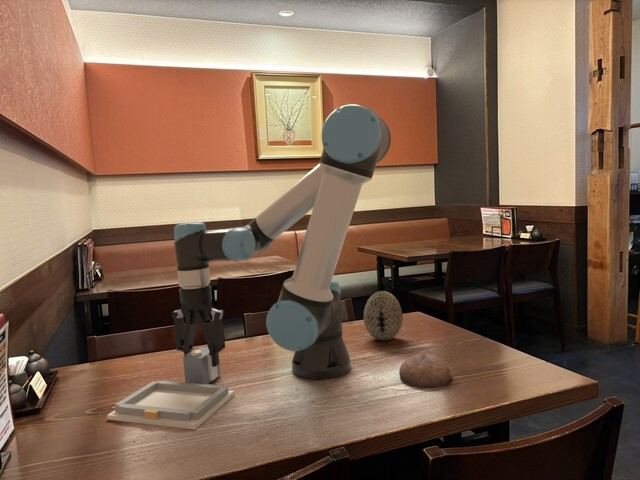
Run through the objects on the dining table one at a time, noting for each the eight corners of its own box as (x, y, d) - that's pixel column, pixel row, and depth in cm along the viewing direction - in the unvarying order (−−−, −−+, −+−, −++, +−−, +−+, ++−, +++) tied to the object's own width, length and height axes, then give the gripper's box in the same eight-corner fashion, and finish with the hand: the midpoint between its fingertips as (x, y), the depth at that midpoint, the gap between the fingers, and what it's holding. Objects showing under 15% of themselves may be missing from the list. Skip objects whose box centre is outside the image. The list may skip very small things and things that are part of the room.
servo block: (220, 374, 116) (217, 344, 115) (203, 386, 108) (200, 355, 107) (203, 373, 117) (200, 343, 117) (185, 385, 109) (182, 354, 109)
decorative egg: (404, 334, 142) (402, 287, 141) (402, 346, 131) (400, 295, 130) (367, 333, 145) (365, 287, 144) (362, 345, 134) (359, 295, 133)
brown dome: (447, 369, 112) (446, 348, 112) (454, 389, 101) (453, 365, 100) (399, 369, 114) (398, 347, 114) (400, 388, 103) (399, 364, 102)
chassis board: (234, 394, 103) (233, 384, 103) (195, 429, 88) (194, 417, 88) (156, 388, 110) (155, 378, 109) (107, 419, 94) (106, 408, 94)
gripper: (235, 282, 112) (243, 374, 113) (172, 283, 117) (181, 371, 119) (219, 288, 104) (228, 386, 106) (154, 289, 110) (163, 382, 112)
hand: (203, 378), depth 113 cm, fingers closed on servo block, 5 cm apart
